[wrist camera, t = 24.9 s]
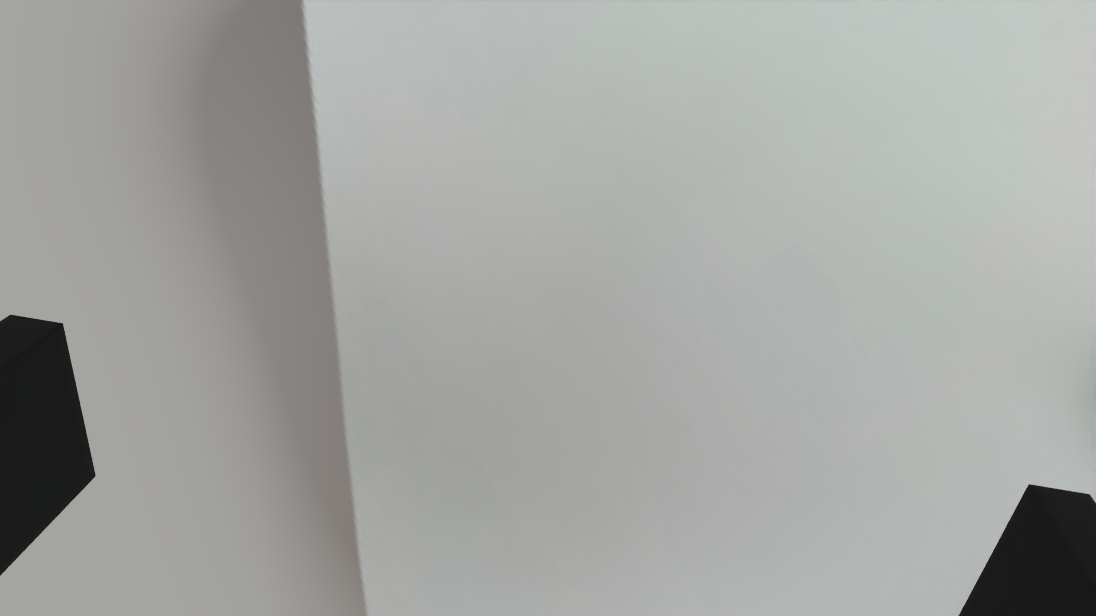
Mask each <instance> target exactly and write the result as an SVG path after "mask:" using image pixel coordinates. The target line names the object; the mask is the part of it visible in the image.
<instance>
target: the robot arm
mask: <svg viewBox="0 0 1096 616" xmlns="http://www.w3.org/2000/svg"><path fill="white" fill-rule="evenodd" d="M94 477H95V471H94V466H93V462H92V457H91V453H90V448H89V443H88V438H87V434H86V429H85V424H84V420H83V415H82V411H81V406H80V401H79V397H78V392H77V387H76V382H75V378H74V373H73V369H72V364H71V359H70V355H69V350H68V345H67V341H66V336H65V331H64V327H63V324H62V323H57V322H51V321H44V320H39V319H33V318H27V317H21V316H15V315H9V316H8V317H6V318H5V319H3V320H2V321H0V575H1V574H2V573H3V572H4V571H5V570H6V569H7V568H8V567H9V566H10V565H11V564H12V563H13V562H14V561H15V560H16V559H17V558H18V556H19V555H20V554H21V553H22V552H23V551H24V550H25V549H26V548H27V547H28V546H29V545H30V544H31V543H32V542H33V541H34V540H35V539H36V538H37V537H38V536H39V535H40V534H41V533H42V531H43V530H44V529H45V528H46V527H47V526H48V525H49V524H50V523H51V522H52V521H53V520H54V519H55V518H56V517H57V516H58V515H59V514H60V513H61V512H62V511H63V510H64V509H65V507H66V506H67V505H68V504H69V503H70V502H71V501H72V500H73V499H74V498H75V497H76V496H77V495H78V494H79V493H80V492H81V491H82V490H83V489H84V488H85V486H87V485H88V483H89V482H90V481H91V480H92V479H93V478H94ZM959 616H1096V503H1095V502H1094V500H1093V499H1092V497H1091V496H1090V494H1084V493H1078V492H1072V491H1066V490H1060V489H1054V488H1048V487H1042V486H1036V485H1030V484H1029V485H1028V487H1027V489H1026V491H1025V492H1024V494H1023V496H1022V498H1021V500H1020V502H1019V504H1018V506H1017V507H1016V509H1015V511H1014V513H1013V515H1012V517H1011V519H1010V521H1009V522H1008V524H1007V526H1006V528H1005V530H1004V532H1003V534H1002V536H1001V538H1000V539H999V541H998V543H997V545H996V547H995V549H994V551H993V553H992V554H991V556H990V558H989V560H988V562H987V564H986V566H985V568H984V569H983V571H982V573H981V575H980V577H979V579H978V581H977V583H976V585H975V586H974V588H973V590H972V592H971V594H970V596H969V598H968V600H967V601H966V603H965V605H964V607H963V609H962V611H961V613H960V615H959Z"/></svg>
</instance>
